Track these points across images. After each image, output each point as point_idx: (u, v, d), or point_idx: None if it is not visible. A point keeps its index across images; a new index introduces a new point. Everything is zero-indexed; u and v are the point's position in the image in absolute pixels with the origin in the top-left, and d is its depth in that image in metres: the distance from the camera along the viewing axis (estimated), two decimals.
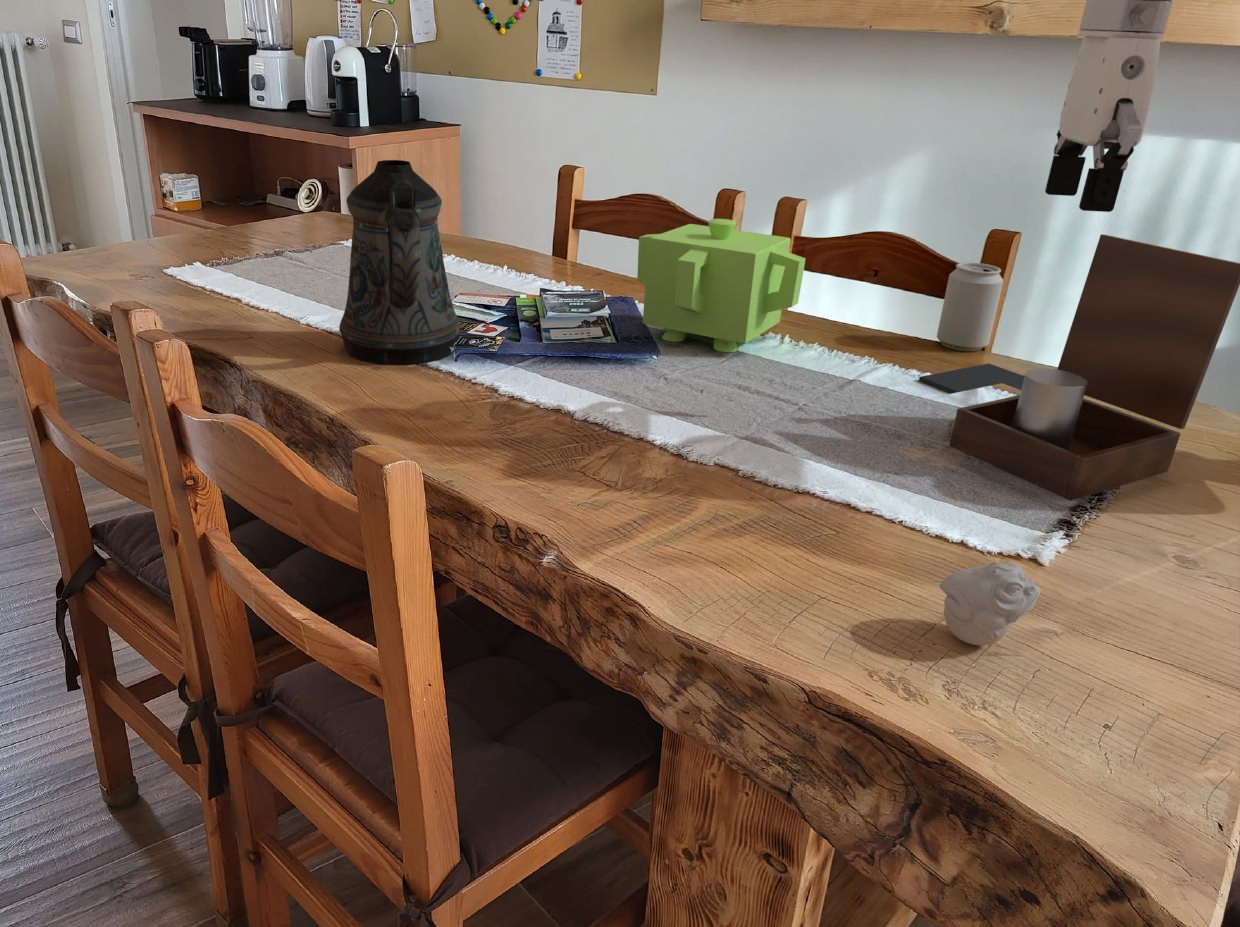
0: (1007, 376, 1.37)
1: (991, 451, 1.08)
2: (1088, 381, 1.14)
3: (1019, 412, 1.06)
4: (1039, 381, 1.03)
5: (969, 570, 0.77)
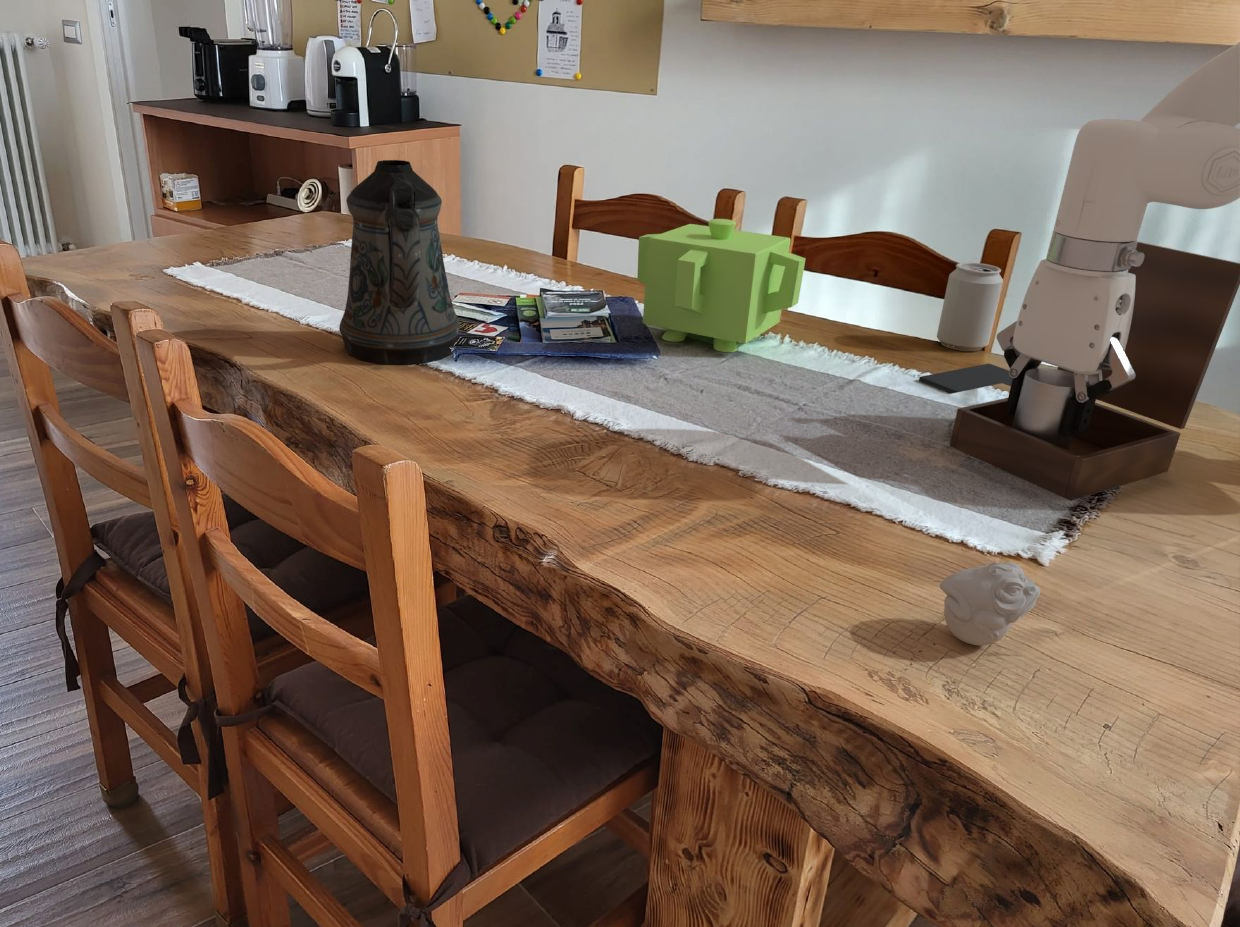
0: (1007, 376, 1.37)
1: (991, 451, 1.08)
2: None
3: (1019, 412, 1.06)
4: (1039, 381, 1.03)
5: (969, 570, 0.77)
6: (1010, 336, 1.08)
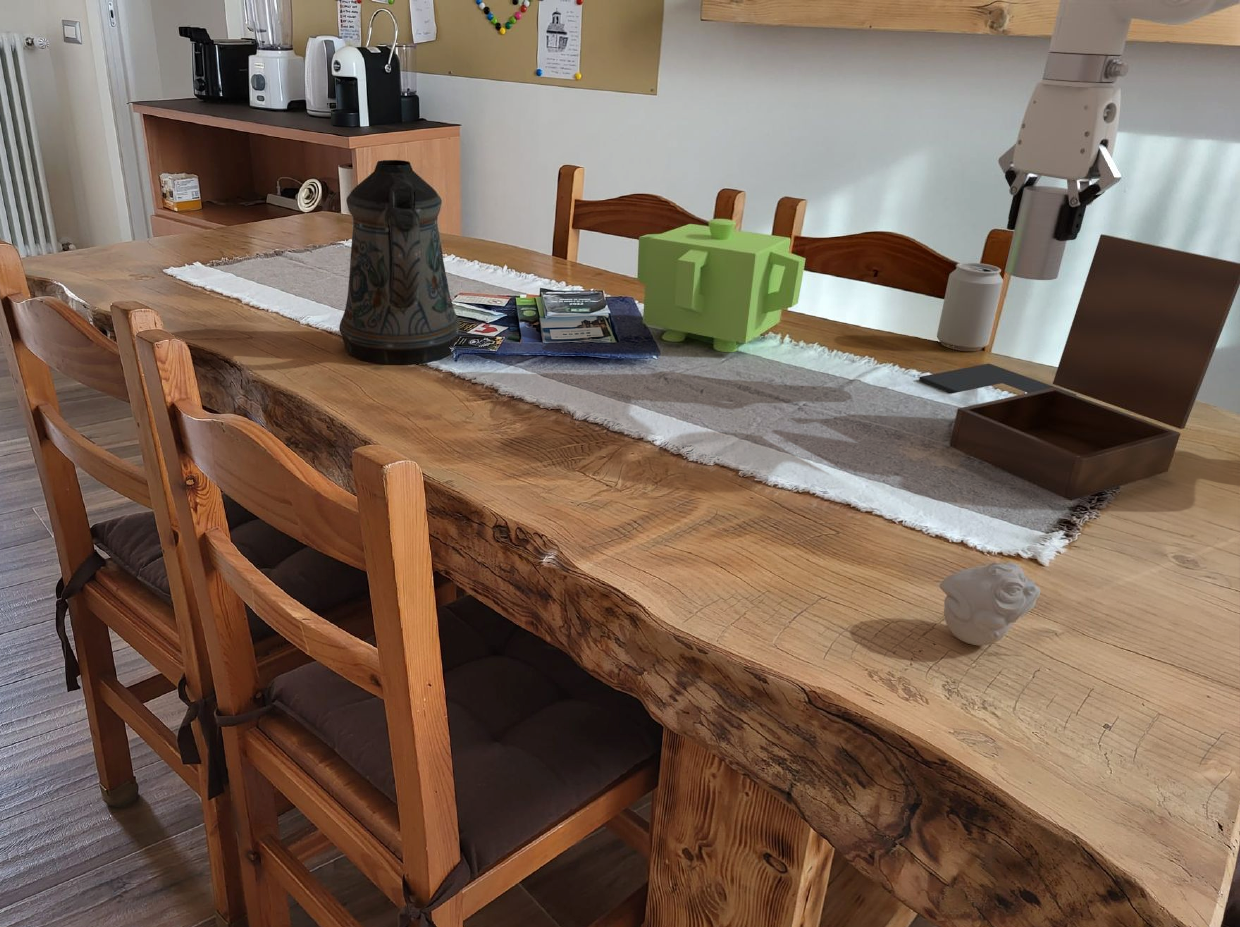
0: (1007, 376, 1.37)
1: (991, 451, 1.08)
2: (1088, 381, 1.14)
3: (1019, 223, 1.19)
4: (1036, 191, 1.17)
5: (969, 570, 0.77)
6: (1010, 158, 1.21)
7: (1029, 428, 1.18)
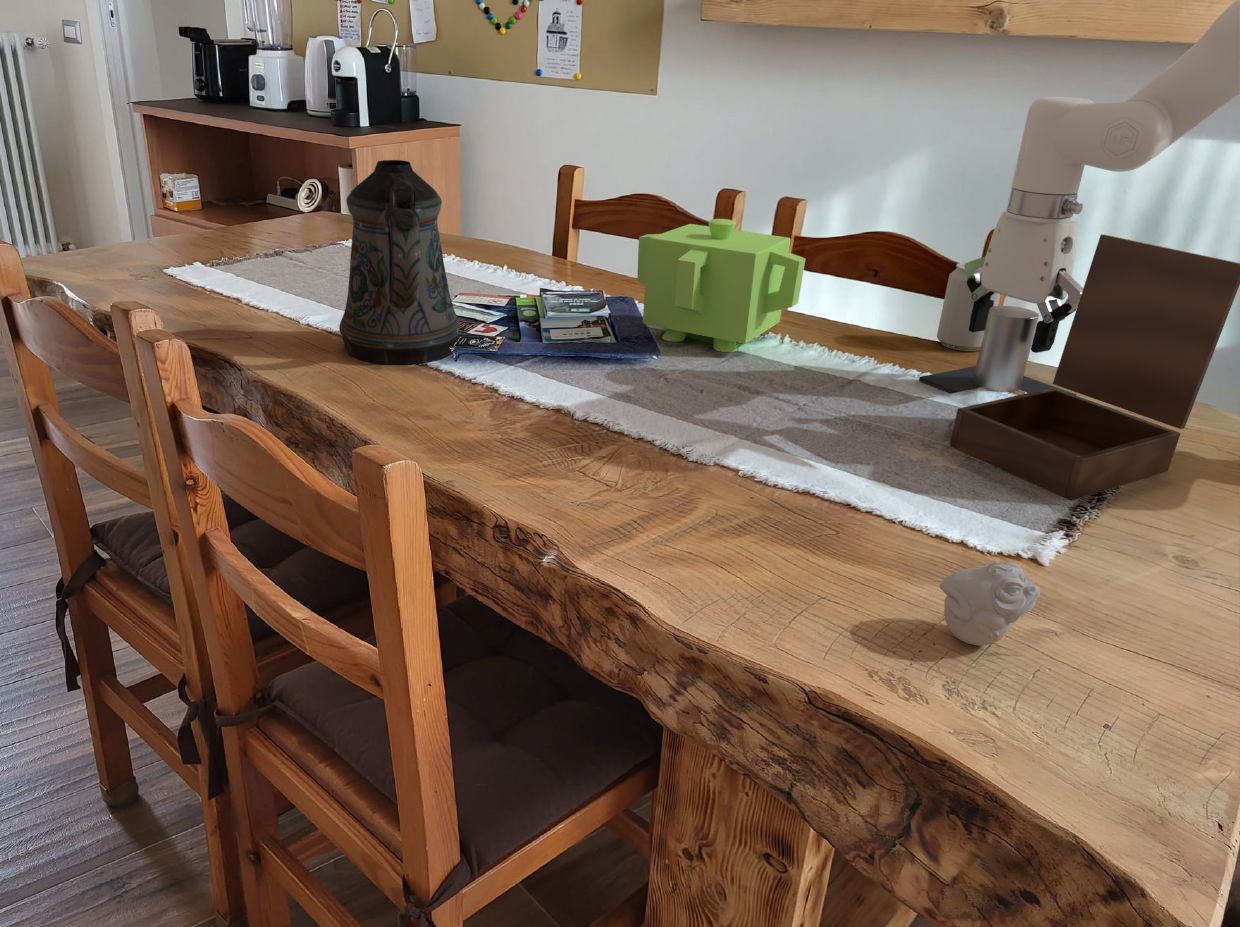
0: None
1: (991, 451, 1.08)
2: (1088, 381, 1.14)
3: (984, 340, 1.30)
4: (1000, 314, 1.27)
5: (969, 570, 0.77)
6: (975, 268, 1.32)
7: (1029, 428, 1.18)
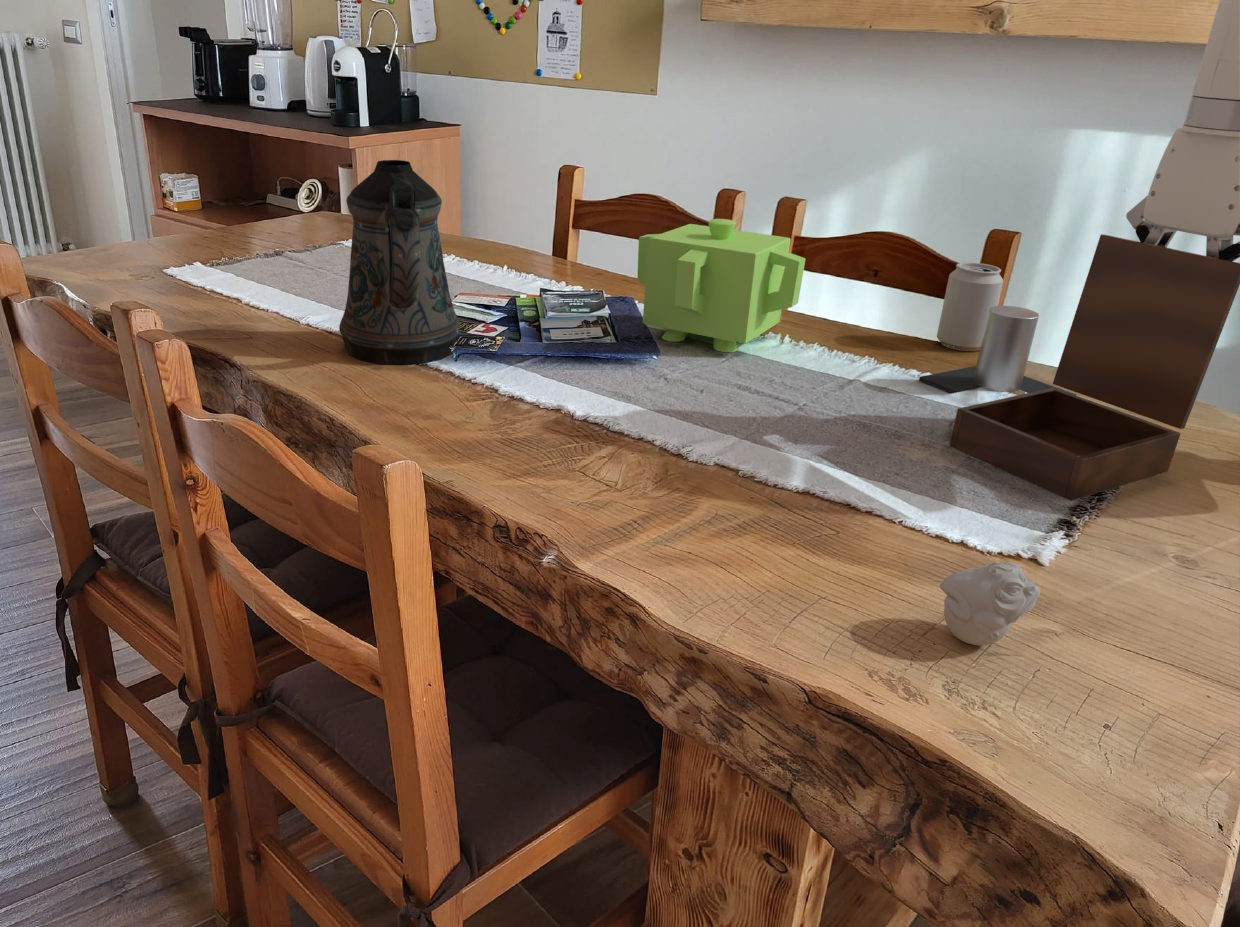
0: None
1: (991, 451, 1.08)
2: (1088, 381, 1.14)
3: (984, 340, 1.30)
4: (1000, 314, 1.27)
5: (969, 570, 0.77)
6: (1141, 212, 1.10)
7: (1029, 428, 1.18)
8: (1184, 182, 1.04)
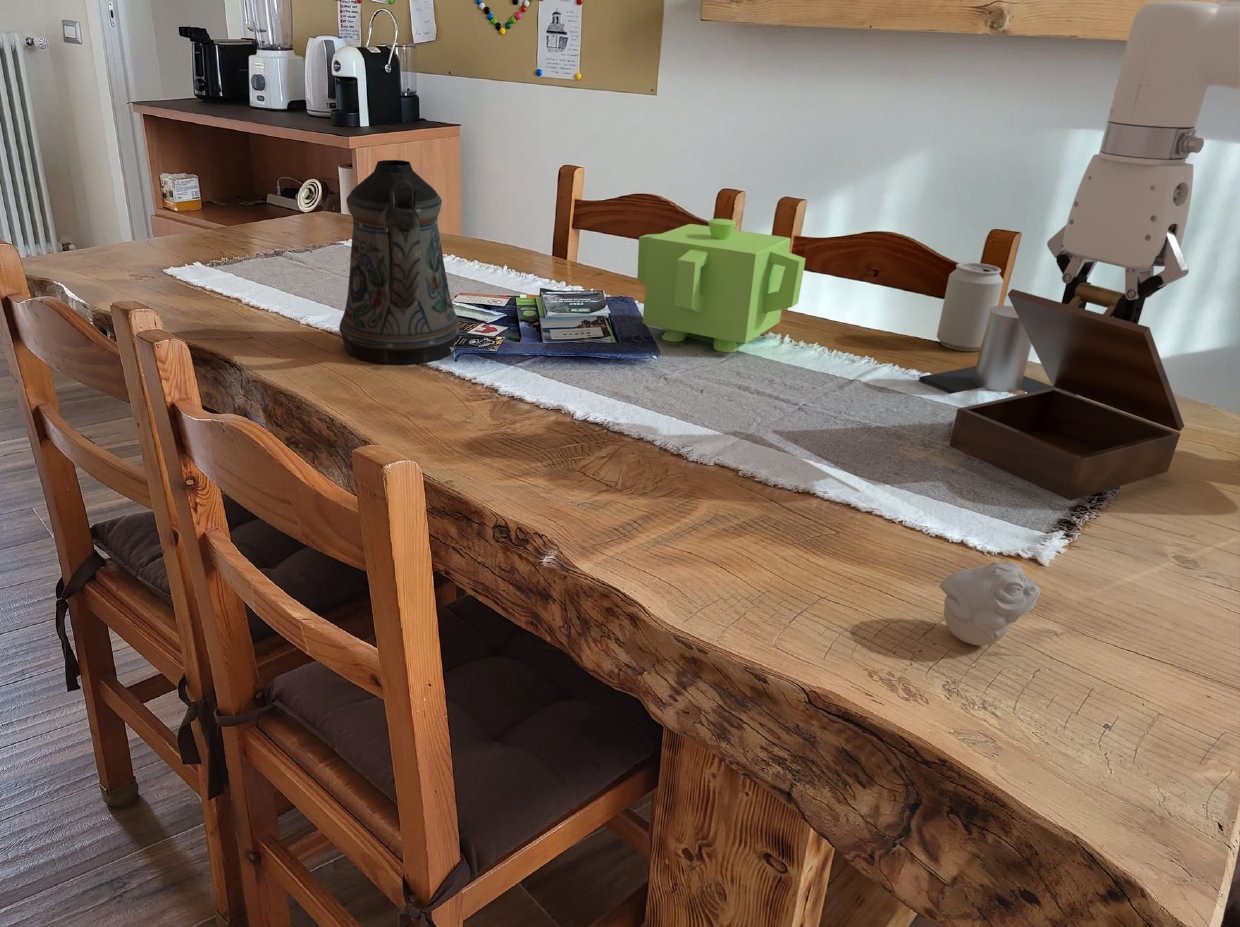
0: None
1: (991, 451, 1.08)
2: (1080, 389, 1.14)
3: (984, 340, 1.30)
4: (1000, 314, 1.27)
5: (969, 570, 0.77)
6: (1062, 241, 1.05)
7: (1029, 428, 1.18)
8: (1101, 211, 0.99)
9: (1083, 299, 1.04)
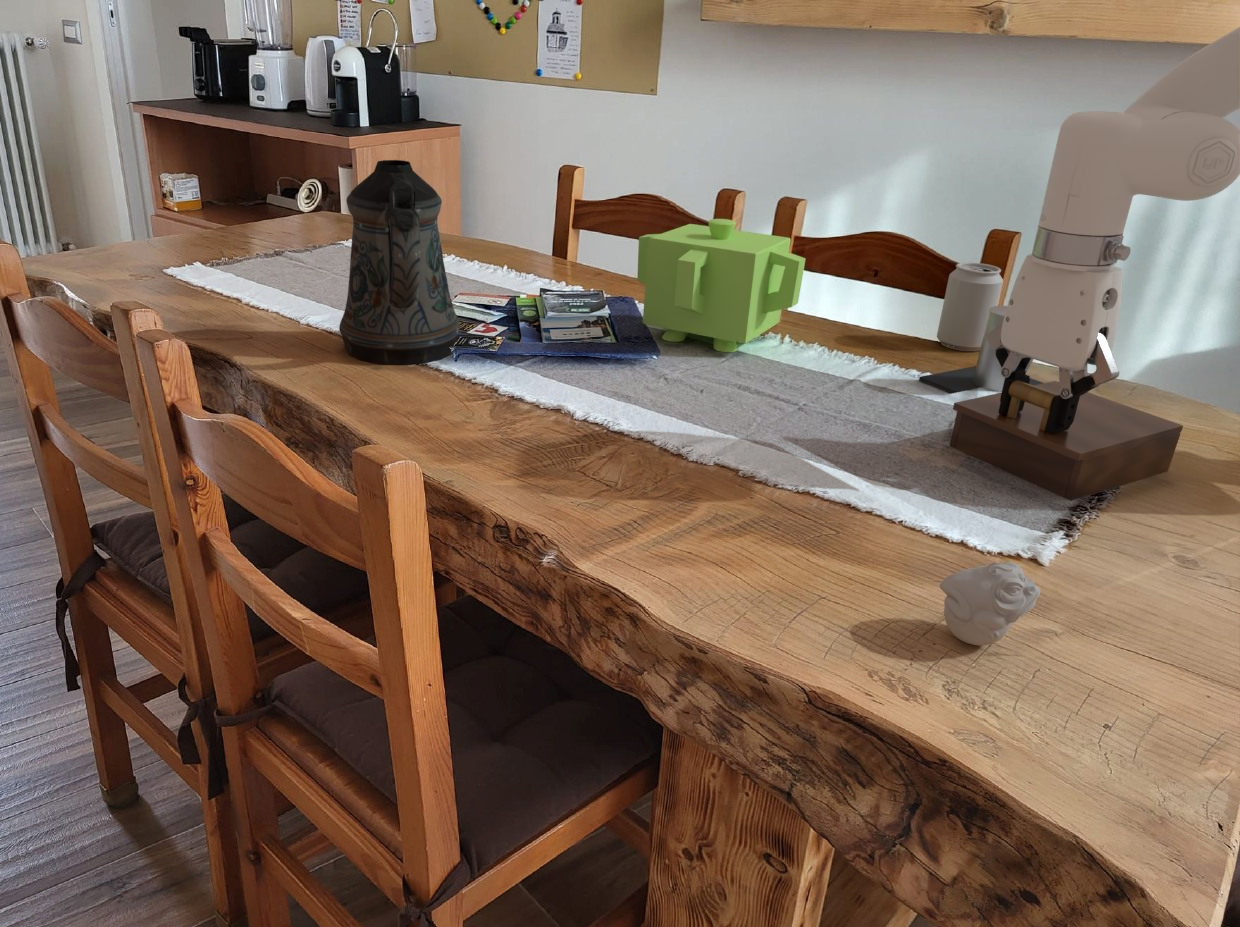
0: None
1: (991, 451, 1.08)
2: None
3: (984, 340, 1.30)
4: (1000, 314, 1.27)
5: (969, 570, 0.77)
6: (1000, 335, 1.06)
7: None
8: (1035, 311, 1.00)
9: (1020, 399, 1.05)
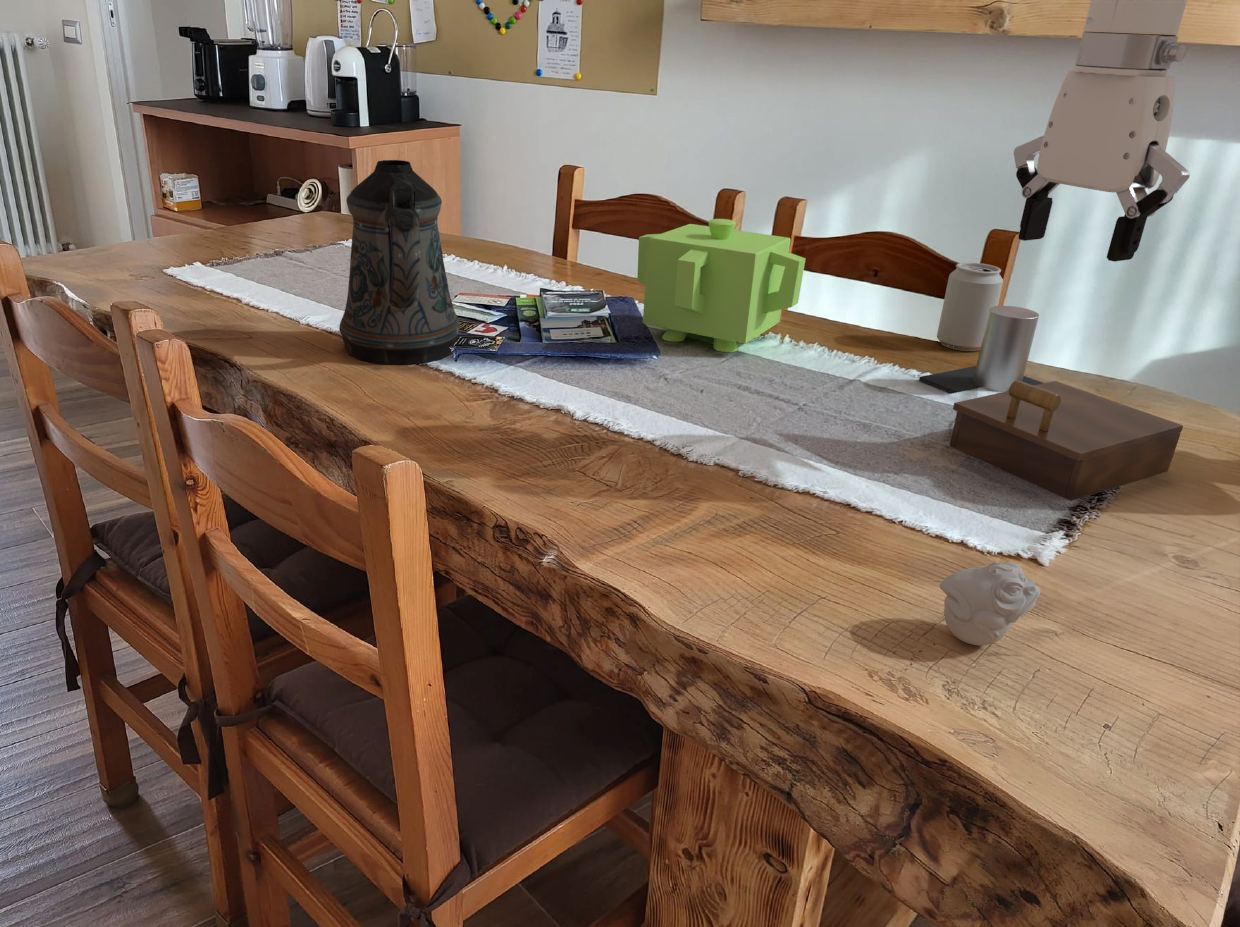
0: None
1: (991, 451, 1.08)
2: None
3: (984, 340, 1.30)
4: (1000, 314, 1.27)
5: (969, 570, 0.77)
6: (1028, 153, 0.99)
7: None
8: (1077, 130, 0.92)
9: (1020, 399, 1.05)
